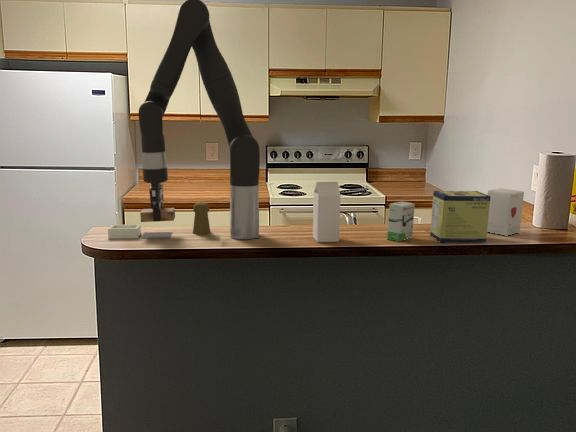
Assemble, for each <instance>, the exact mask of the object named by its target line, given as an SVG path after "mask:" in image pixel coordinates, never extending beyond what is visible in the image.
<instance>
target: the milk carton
mask: <svg viewBox="0 0 576 432" xmlns="http://www.w3.org/2000/svg"><path fill="white" fill-rule="evenodd" d="M315 183H316V184H315V186H314V187H315V188H314V189H313V190H314V191H313V203H312V204H313V205H312V206H313V207H312V208H313V211H312V213H313V214H312V237H313V239H314V240H315V241H316V243H339V242H340V222H341V221H340V220H341V219H340V218H341V197H342V196H341V192H340V187H339V181H316V182H315Z"/></svg>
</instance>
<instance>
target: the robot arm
mask: <svg viewBox="0 0 576 432" xmlns="http://www.w3.org/2000/svg"><path fill="white" fill-rule="evenodd" d="M178 8H179V9H178V12H177V17H176V22H175V26H174V29H173V33H172V36H171V38H170V41H169V44H168V46H167V48H166V51H165V52H164V55H163V57H162V58H161V61H160V63H159V65H158V67H157V69H156V71H155V74H154V76H153V79H152V81H151V83H150V86H149V91H148V93H147V95H146V98H145V100H144V102H143V103H142V104H141V105H140V106H139V107H138V112H137V113H138V114H137V115H138V123H139V124H138V125H139V128H140V129H139V130H140V133H141V135H140V136H141V152H142V154H141V166H142V178H143V179H142V180H143V182H144V183H147V184H150V185H151V186H150V187H149V189H148V191H149V192H148V193H149V202H150V209H152V210H153V221H154V222H161V221H160V220H161V215H160V208H164V207H163V205H164V201H165V200H164V197H165V195H164V185H163V183H166V182H168V180H169V176H168V175H169V174H168V162H167V161H168V159H167V154H166V141H165V136H164V129H163V127H164V125H163V118H164V115H165V113H166V110H167V108H168V105H169V102H170V99H171V97H172V95H173V94H174V92H175V90H176V88H177V85H178V83H179V81H180V79H181V77H182V73H183V72H184V71H183V70H184V68H185V65H186V63H187V62H186V61H187V59H188V56H189V53H190V51H191V49H192V51H193V52H194V55H195V59H196V63H197V67H198V72H199V73H200V77H201V81H202V83H203V86H204V89H205V91H206V94H207V97H208V99H209V101H210V103H211V105H212V107H213V110H214V111H215V113H216V115H217V117H218V119H219V120H220V122H221V125H222V127H223V130H224V133H225V136H226V137H225V138H226V140H227V144H228V148H229V156H230V157H229V160H230V165H229V167H230V168H229V169H230V171H229V199H230V203H229V212H230V213H229V215H230V216H229V217H230V219H229V222H230V223H229V224H230V227H229V228H230V231H229V233H230V238H232V239H237V240H251V239H259V238H260V209H259V207H260V206H259V204H260V203H259V202H260V201H259V199H260V198H259V197H260V195H259V194H260V193H259V188H260V187H259V186H260V185H259V184H260V183H259V182H260V166H261V162H260V159H261V158H260V157H261V155H260V154H261V153H260V152H261V151H260V150H261V149H260V145H259V142H258V141H257V139H255V137H254V136H253V134H252V132H251V130H250V129H249V128H250V127H249V125H248V123H247V122H246V120H245V117H244V114H243V113H244V112H243V108H242V104H241V99H240V95H239V91H238V88H237V85H236V82H235V80H234V77H233V75H232V72H231V70H230V67H229V65H228V63H227V62H226V59H225V58H224V57H223V54H222V53H221V51H220V49H219V47H218V45H217V42H216V39H215V36H214V32H213V29H212V26H211V21H210V18H211V17H210V10H209V9H208V7H207V5H206V4H205V2H204V1H202V0H184V1H183V2H182V3H181V4H180V6H179V7H178ZM154 222H153V223H154Z"/></svg>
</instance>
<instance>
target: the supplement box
mask: <svg viewBox="0 0 576 432" xmlns="http://www.w3.org/2000/svg"><path fill="white" fill-rule="evenodd" d="M487 195H489V196H491V197H490V207H489V217H488V227H487V233H488V232H490V233H489V234H492V233H495V234H494V235H497V234H501V235H500V236H502V235H505V236H504V237H506V236H507V237H509V236H508V235H511V236H513V235H512V234H515V233H519V232H520V231H521V223H522V215H523V214H522V213H523V207H524V206H523V205H524V197H525V196H524V195H525V191H523V190H522V191H521V190H514V189H508V188H496V189H495V188H494V189H489V190H487ZM519 234H520V233H519ZM515 235H516V234H515Z"/></svg>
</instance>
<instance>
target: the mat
mask: <svg viewBox="0 0 576 432" xmlns="http://www.w3.org/2000/svg"><path fill="white" fill-rule="evenodd" d="M172 235H173V231H160V232H159V231H153V232H152V231H151V232H150V231H149V232H147V231H146V232H145V231H144V233H143V235H142V236H141V238H140V240H170V239H171V238H172Z"/></svg>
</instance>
